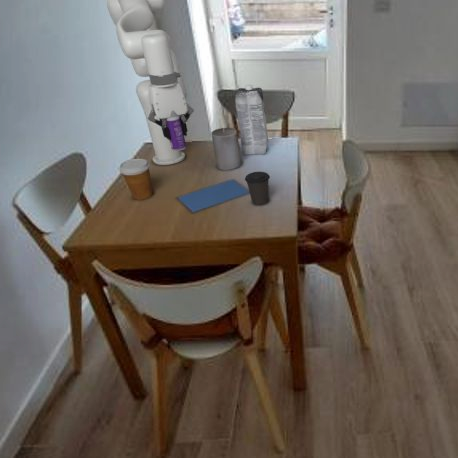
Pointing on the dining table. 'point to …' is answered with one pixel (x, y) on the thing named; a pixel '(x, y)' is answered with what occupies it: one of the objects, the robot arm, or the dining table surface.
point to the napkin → (212, 195)
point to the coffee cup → (258, 187)
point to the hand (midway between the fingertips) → (176, 136)
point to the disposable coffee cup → (137, 177)
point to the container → (176, 132)
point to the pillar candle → (226, 148)
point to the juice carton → (251, 120)
